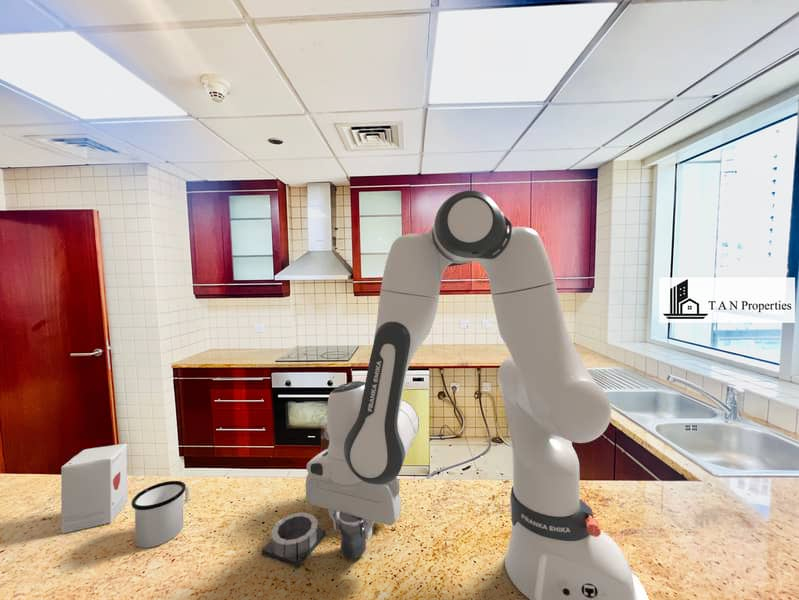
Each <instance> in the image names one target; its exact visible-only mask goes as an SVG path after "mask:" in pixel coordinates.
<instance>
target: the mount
mask: <svg viewBox="0 0 799 600" xmlns="http://www.w3.org/2000/svg"><path fill="white" fill-rule="evenodd" d="M318 523H319V520H318V519H317V517H315V516H314V514H311V513H308V512H304V511H303V512H294V513H291V514H289V515H286V516H285V517H282V518H281V519H279V520H277V523H275V524H274V526H273V527H272V530H271V532H270V541H269V542H268V543H267V544H265V546H264V547H262V549H261V555H262V556H265V557H268V558H271V559H273V560H276V561H278V562H281V563H283V564H286V565H289V566H291V567H294V568H297V569H299V568H300V567H301V566H302V564H303V563H304V562H305V561H306V559H307V558H308V557H309V556H310V555H311V554H312V552H313V551H314V550H315V549H316V548H317V546H318V545H319V544H320V543H321V542H322V540H323V539H324V538H325V537H326V536H327V530H326V529H323V528H320V527H319V524H318Z"/></svg>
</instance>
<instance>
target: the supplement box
mask: <svg viewBox="0 0 799 600" xmlns="http://www.w3.org/2000/svg"><path fill="white" fill-rule="evenodd" d="M60 468H61V470H60V471H61V472H60V475H61V476H60V477H61V483H60V484H61V494H60V495H61V534H66V533H71V532H76V531H81V530H85V528H86V529H89V528H90V529H91V528H95V527H98V525H99V526H104V525H108V524H107V523H109V524H111V522H113V521H114V520H115V519H116V517H117V516H118V515H119V513H120V512H121V511H122V509H123V508H124V507H125V505H126V504H127V502H128V444H127V443H120V444H113V445H107V446H99V447H92V448H86V449H83V450H81V451H80V452H79V453H78V454H76V455H74V456H73V457H72V458H71V459H69V461H68V462H65V464H64V465H62V466H61V467H60ZM125 503H126V504H125ZM123 506H124V507H123ZM120 510H121V511H120ZM117 514H118V515H117ZM114 518H115V519H114ZM103 524H104V525H103ZM94 526H95V527H94Z"/></svg>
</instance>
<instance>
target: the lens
mask: <svg viewBox="0 0 799 600" xmlns="http://www.w3.org/2000/svg"><path fill="white" fill-rule="evenodd" d="M339 513H340V514H339V521H340V531H339V534H340V535H339V537H340V541H339V543H340V553H341V555H342V556H343V557H344V558H346V559H351V560H352V559H357V558H360V557H361V556H362V555H363V554H364V553H365V552H366V549H367V543H366V542H367V539H364V538H362V533H361V530H362V528H364V526H365V524H366V519H364V518H360V517H356V516H353V515H349V514H346V513H342V512H339Z"/></svg>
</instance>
